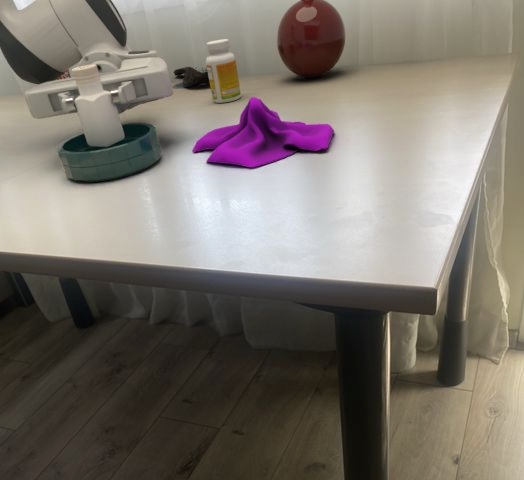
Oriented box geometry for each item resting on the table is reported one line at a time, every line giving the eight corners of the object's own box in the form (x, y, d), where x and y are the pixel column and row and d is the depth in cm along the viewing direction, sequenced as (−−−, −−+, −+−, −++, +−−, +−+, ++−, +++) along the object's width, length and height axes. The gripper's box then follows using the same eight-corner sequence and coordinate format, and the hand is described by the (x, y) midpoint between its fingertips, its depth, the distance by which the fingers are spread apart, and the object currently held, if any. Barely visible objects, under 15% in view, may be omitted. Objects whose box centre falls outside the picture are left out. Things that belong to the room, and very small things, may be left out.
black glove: (191, 58, 130) (227, 61, 110) (195, 75, 132) (231, 81, 112) (159, 66, 128) (190, 70, 108) (163, 83, 130) (194, 90, 110)
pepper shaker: (86, 147, 73) (61, 71, 67) (107, 138, 76) (84, 64, 70) (107, 148, 71) (83, 70, 65) (127, 139, 74) (106, 62, 68)
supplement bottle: (246, 95, 101) (237, 37, 95) (232, 103, 97) (222, 42, 92) (222, 96, 103) (212, 39, 98) (207, 103, 100) (196, 45, 94)
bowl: (58, 191, 70) (47, 160, 67) (76, 160, 81) (66, 133, 78) (160, 172, 70) (152, 141, 67) (164, 144, 81) (157, 117, 78)
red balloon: (267, 83, 107) (252, -38, 95) (312, 68, 113) (303, -48, 102) (315, 86, 99) (306, -47, 87) (360, 70, 105) (357, -56, 93)
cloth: (360, 142, 68) (359, 91, 64) (225, 180, 64) (216, 127, 60) (288, 113, 85) (284, 71, 82) (178, 141, 81) (168, 98, 77)
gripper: (30, 71, 78) (4, 89, 67) (166, 48, 79) (163, 62, 68) (46, 116, 82) (24, 140, 71) (176, 94, 82) (175, 114, 71)
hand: (93, 102), depth 69 cm, fingers closed on pepper shaker, 5 cm apart
